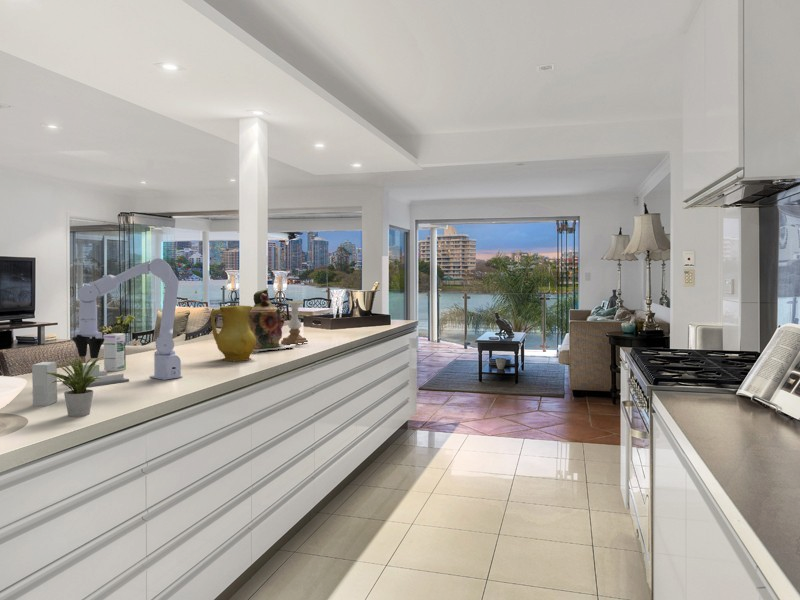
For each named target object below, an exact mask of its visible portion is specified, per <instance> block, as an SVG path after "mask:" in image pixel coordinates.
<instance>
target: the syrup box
mask: <svg viewBox="0 0 800 600" xmlns="http://www.w3.org/2000/svg"><path fill="white" fill-rule="evenodd" d="M102 337H103V338H104V342H103V357H104V358H103V371H107V372H119V371H124V370H127V367H126V365H127V361H126V355H127V354H126V334H125V333H119V332H117V333H116V332H114V333H108V334H102Z"/></svg>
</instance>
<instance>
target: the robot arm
mask: <svg viewBox="0 0 800 600" xmlns="http://www.w3.org/2000/svg"><path fill="white" fill-rule="evenodd" d="M150 273H151V274H152V275H154V276H156V277H157V278H159V279H160V280H161V282H162V283H163V284H164V286H165V287H164V292H163V293H164V295H163V303H162V311H161V318H160V327H159V334H158V336H157V338H156V339H155V349H156V351H154V353H153V354H154V355H153V357H154V359H153V360H154V363H153V365H154V367H153V368H154V370H153V371H154V373H153V375H149V378H151V379H152V378H153V379H158V380H164V381H165V380H171V379H179V378H183V375H182V372H181V371H182V370H181V369H182V366H181V365H182V364H181V363H182V361H181V358H180V357H179V356H178V355H176V351H175V350H174V349H175V348H174V347H175V342H174V340H173V334H174V325H175V324H174V323H175V315H176V306H177V299H178V290H179V284H180V283H179V281H180V280H179V278H178V277H177V275H176V274H175V272H174V270H173V269H172V266H171V265H170V264H169V263H168V262H167V261H166V260H165V259H163V258H159V257H158V258H154V259H152V260H149V261H145V262H141V263H139V264H136V265H134V266H132V267H130V268H129V269H128V268H127V270H124V271H123V272H120V273H118V274H117V275H113V274H108V275H107V274H104V275H102V277H101V278H99V279H97V280H95V281H90V282H89V284H85V285H83V286H81V288H79V290H78V297H79V302H78V304H79V307H78V329H75V330H74V336H73V337H72V338H71V339H72V341H73V342H74V344H75V346H76V350H77V353H78V357H79V356H80V357H81V358H82V357H86V356H87V355H88V354H87V351H88V350H89V356H90V359H92V358H94V359H98V358H99V354H100V350H101V347H102V345H103V344H104V337H103V332H101V331H98V306H97V298H98V297H103V296H106V295H107V294H109V293H111V292H113V291H116V290H118V289H119V286H120V284H121V283H124V282H126V281H128V280H131V279H133V278H136V277H137V276H140V275H149V274H150ZM88 347H89V349H88Z"/></svg>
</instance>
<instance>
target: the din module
mask: <svg viewBox="0 0 800 600" xmlns="http://www.w3.org/2000/svg"><path fill="white" fill-rule="evenodd" d="M90 364H91V363H90ZM90 364H89V363H87V365H86V367H85V364H83V370H84V367H85V370H84V373H83V377H84V375H85V373H86V371H87V370H88V368H89V366H90ZM97 365H98V364H97V363H95V365H94V367H93V368H92V370H91V371H90V372H89V374H88V376H89V375H90V376H98V377H99V371H100V364H99V365H98V366H97ZM96 366H97V367H96ZM95 367H96V368H95ZM92 371H93V372H92ZM91 372H92V373H91ZM90 373H91V374H90ZM87 378H88V377H87Z"/></svg>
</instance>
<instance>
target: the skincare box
mask: <svg viewBox="0 0 800 600" xmlns="http://www.w3.org/2000/svg"><path fill="white" fill-rule="evenodd" d="M54 362H55V361H41V362H38V363H34V364H32V365H31V370H32V372H31V373H32V375H31V376H32V377H31V379H32V381H31V383H32V406H33V407H47V406H49V405H53V404H54V403H56V402H58V382H54V381H58V379H57V378H58V377H56V376H54V375H51V374H47V373H57V371H58V368H57V367H58V366H57V365H58V362H56V363H54ZM57 374H58V373H57ZM54 377H56V378H54ZM53 382H54V383H53Z"/></svg>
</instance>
